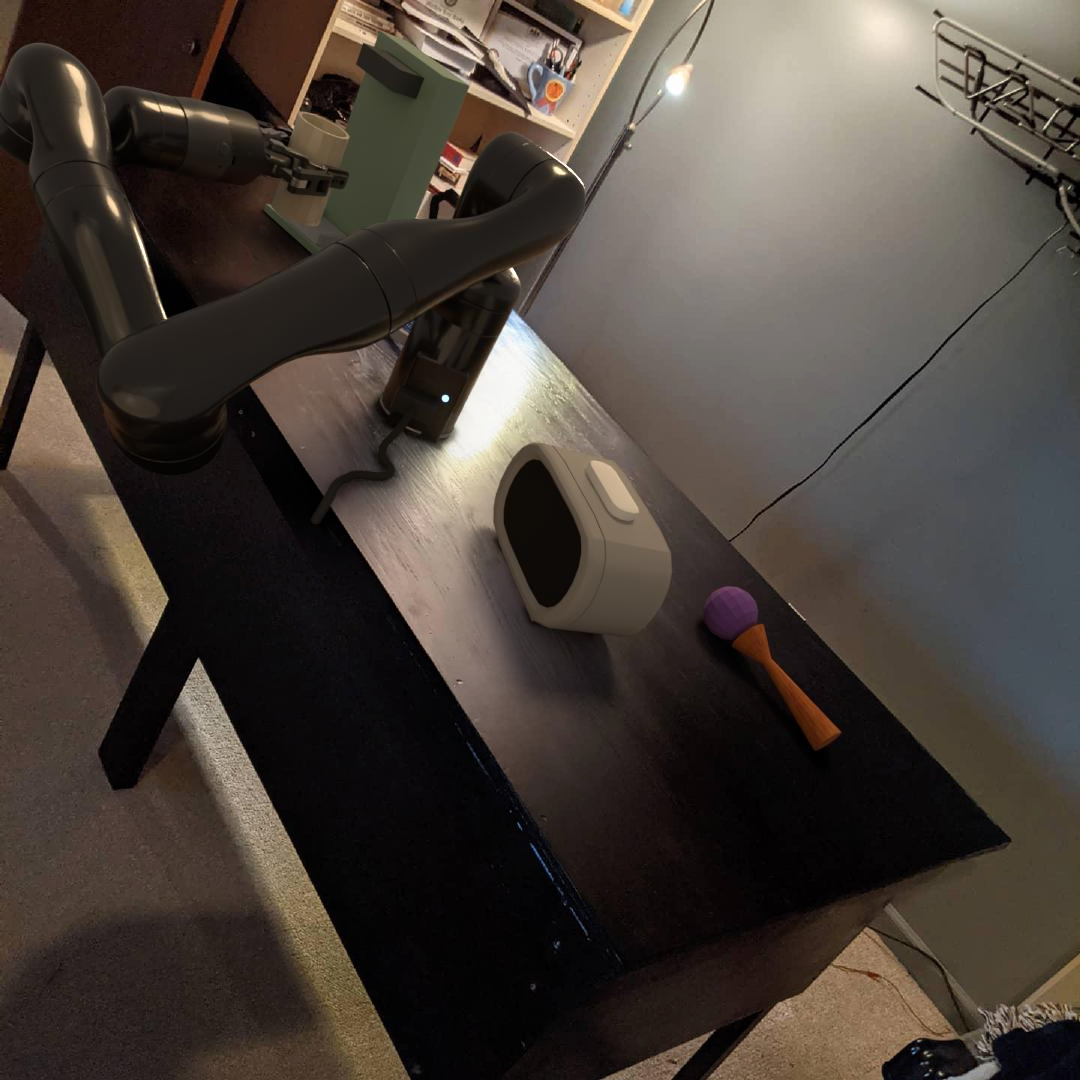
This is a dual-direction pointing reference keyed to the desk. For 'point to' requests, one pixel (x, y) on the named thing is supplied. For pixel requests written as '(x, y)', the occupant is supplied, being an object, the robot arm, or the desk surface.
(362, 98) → the coffee maker
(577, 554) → the alarm clock
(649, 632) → the desk surface
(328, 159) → the beige cylindrical cup
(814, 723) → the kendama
